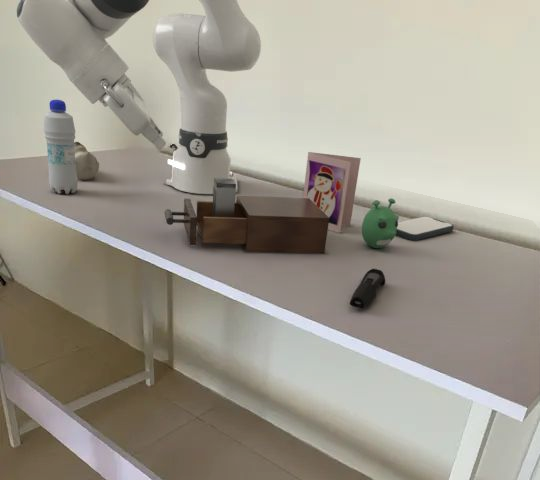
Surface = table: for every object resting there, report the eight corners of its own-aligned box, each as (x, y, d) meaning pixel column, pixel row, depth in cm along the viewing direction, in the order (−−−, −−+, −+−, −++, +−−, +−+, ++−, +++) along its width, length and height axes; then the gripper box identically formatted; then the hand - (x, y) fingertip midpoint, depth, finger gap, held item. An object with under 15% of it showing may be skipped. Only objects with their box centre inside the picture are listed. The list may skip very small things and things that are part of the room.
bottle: (70, 196, 137) (64, 102, 128) (43, 192, 138) (34, 98, 129) (84, 190, 143) (79, 100, 134) (58, 187, 144) (51, 96, 135)
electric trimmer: (342, 312, 94) (345, 293, 92) (365, 280, 107) (368, 263, 105) (365, 317, 93) (369, 298, 91) (385, 284, 106) (389, 267, 104)
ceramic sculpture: (66, 145, 144) (44, 138, 154) (69, 182, 148) (47, 173, 158) (108, 144, 150) (84, 137, 160) (110, 180, 154) (86, 171, 164)
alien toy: (376, 255, 120) (385, 205, 115) (351, 243, 125) (359, 195, 120) (402, 252, 123) (411, 203, 118) (377, 240, 129) (385, 193, 124)
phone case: (413, 242, 131) (455, 232, 140) (414, 235, 130) (456, 225, 140) (381, 231, 136) (424, 222, 146) (383, 224, 136) (425, 215, 145)
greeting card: (297, 220, 137) (305, 152, 130) (318, 216, 142) (326, 150, 135) (337, 233, 131) (348, 162, 124) (357, 228, 136) (368, 160, 129)
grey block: (214, 233, 116) (216, 183, 112) (211, 226, 120) (213, 177, 116) (233, 233, 117) (236, 184, 113) (229, 226, 121) (232, 178, 117)
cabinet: (246, 252, 114) (248, 215, 111) (234, 229, 127) (236, 195, 123) (324, 253, 118) (329, 217, 114) (305, 231, 130) (309, 198, 127)
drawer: (167, 244, 111) (167, 216, 109) (163, 223, 123) (163, 197, 120) (265, 247, 115) (267, 219, 113) (252, 226, 127) (254, 201, 124)
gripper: (115, 68, 92) (178, 139, 99) (117, 60, 110) (170, 121, 117) (86, 98, 93) (151, 165, 100) (93, 85, 111) (147, 144, 118)
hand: (161, 141), depth 109 cm, fingers open, 8 cm apart
